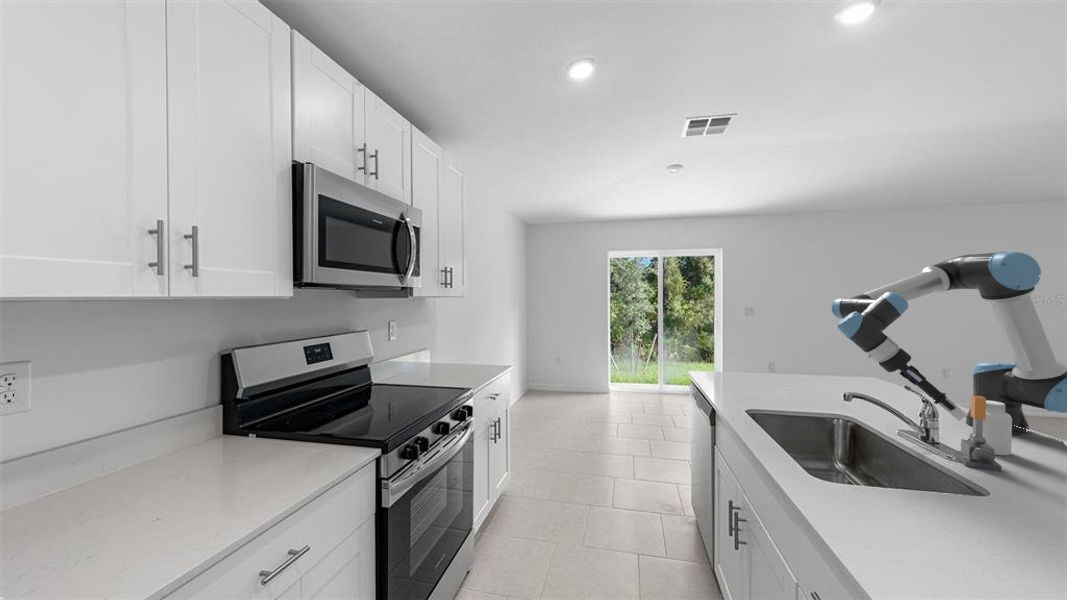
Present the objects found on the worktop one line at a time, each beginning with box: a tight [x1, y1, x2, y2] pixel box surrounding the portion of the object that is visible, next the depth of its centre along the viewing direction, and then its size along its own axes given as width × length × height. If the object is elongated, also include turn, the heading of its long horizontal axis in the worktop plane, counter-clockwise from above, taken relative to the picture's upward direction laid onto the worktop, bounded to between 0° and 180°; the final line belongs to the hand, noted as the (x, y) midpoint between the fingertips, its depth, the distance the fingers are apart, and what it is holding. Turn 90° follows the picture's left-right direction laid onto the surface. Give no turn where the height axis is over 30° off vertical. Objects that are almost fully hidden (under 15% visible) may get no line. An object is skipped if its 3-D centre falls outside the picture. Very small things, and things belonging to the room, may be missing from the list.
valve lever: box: [968, 394, 986, 445], centre depth 119 cm, size 2×3×13 cm
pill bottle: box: [983, 400, 1013, 456], centre depth 128 cm, size 8×8×15 cm
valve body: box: [954, 438, 1002, 472], centre depth 119 cm, size 7×9×6 cm
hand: (962, 417), depth 121 cm, fingers closed
